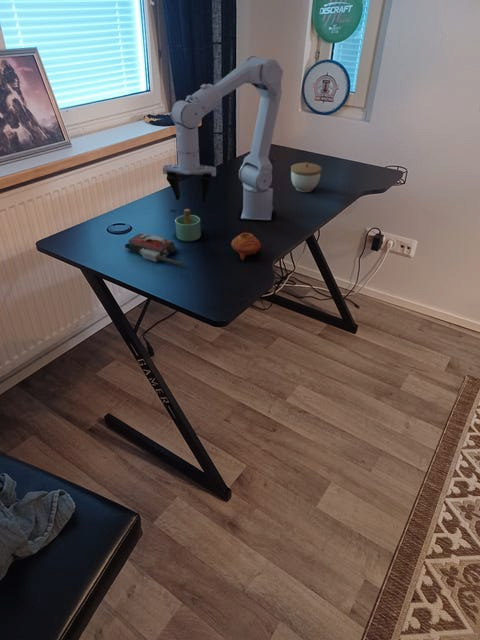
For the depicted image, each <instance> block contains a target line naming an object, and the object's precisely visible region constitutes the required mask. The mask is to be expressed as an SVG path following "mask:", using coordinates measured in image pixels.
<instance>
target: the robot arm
mask: <svg viewBox="0 0 480 640" xmlns="http://www.w3.org/2000/svg"><path fill="white" fill-rule="evenodd" d="M283 74H284V70H283V68H282V67H281V65H280V64H279V62H278V61H277V60H276V59H272V58H270V59H269V58H264V57H258V56H256V55H249V56H248V57H246V59H244V60H242V61H240V63H239V65H238V66H236V68H234V69H233V70H231V71H230V72H229V73H228V74H226V76H224V77H223V78H221V79H220V80H219V81H218V82H216V84H212V83H207V84H206V83H202V85H200V89H199V90H197V91H195V92H194V93H192V94H191V95H190V94H188V95H187V96H185V98H186V99H185V100H184V99H183V100H181V99H180V100H177V101H176V102H175V103H174V104H173V105H172V108H171V112H170V113H169V115H170V119H171V120H172V121H173V123H174V125H175V136H176V137H175V138H176V148H177V149H176V151H177V163H178V164H177V163H176V164H164V165H162V174H163V175H166V177H165V179H166V181H167V182H168V183H169V186H170V187H171V190H172V191H173V194H174V197H175V201H179V200H180V198H181V191H180V179H179V178H180V175H196V176H201V178H200V181H201V188H202V202H206V201H207V198H208V197H207V196H208V190H209V186H210V183H211V181H212V178H213V177H216V176H217V167H216V166H211V165H210V166H209V165H204V164H200V146H199V145H200V144H199V125H200V124H201V123H202V119H203V118H204V117H205V116H206V115H208V114H209V113H211V112H212V111H213V110H214V109H216V108H218V107H219V106H221V104H222V98H224V97H225V96H228V95H229V94H230V93H231V92H234V91H235V90H236V89H238V88H240V87H241V86H243V85H245V84H251V85H252V86H253V87H254V88H255V89H256V91H257V93H258V94H259V96H260V101H259V106H258V111H257V115H256V121H255V127H254V130H253V131H254V132H253V137H252V142H251V147H250V152H249V154H248V155H247V156H245V157H244V158H243V162H242V165H241V166H240V168H239V170H238V178H239V180H240V181H241V182H242V186H243V193H242V194H243V198H242V200H243V201H242V202H243V203H242V204H243V205H242V207H243V208H242V212H241V215H240V219H241V220H255V221H272V216H273V215H272V214H273V212H274V206H273V199H274V189H273V188H271V185H272V181H273V173H272V172H273V165H272V163H271V161H270V158H269V155H270V151H271V145H272V142H273V141H272V140H273V136H274V131H275V126H276V122H277V118H278V113H279V109H280V105H281V99H282V91H283V90H282V79H283Z"/></svg>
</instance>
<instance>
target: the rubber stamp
mask: <svg viewBox="0 0 480 640" xmlns="http://www.w3.org/2000/svg"><path fill="white" fill-rule="evenodd" d="M183 215H184V220H185V224H183V225H190V224H193V223H191V216H190V215H191V209H190V208H185V209H183Z"/></svg>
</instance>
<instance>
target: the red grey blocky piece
mask: <svg viewBox="0 0 480 640" xmlns="http://www.w3.org/2000/svg"><path fill="white" fill-rule="evenodd" d="M124 248H125V249H128V250H129V252H132V253H136V254H139V255H142V257H143V259H144V260H148V261H152V262H153V263H158V262H166V263H168V264H173V265H178V266H179V265H180V266H184V262H183V261H179V260H177V259H176V260H175V259H173V258H168V256H169V255H170V254H172V253H175V250H176V246H175V241H173V240H169V239H166V238H165V237H162V236H158V235H154V234H153V235H149V234H145V233H138V234H136V235H134V236H133V237H131V238H130V239H129V240H128V243H125V244H124Z"/></svg>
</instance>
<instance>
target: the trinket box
mask: <svg viewBox="0 0 480 640" xmlns="http://www.w3.org/2000/svg"><path fill="white" fill-rule="evenodd" d="M322 171H323V169H322V166H321V165H318V164H316V163H312V162H307V161H305V162H297V163H294V164H292V165H291V166H290V180H291V183H292V186H293V187H294V188H295V190H296V191H298V192H300V193H310V192H312V191H314V189H315V188H316V187H317V186H318V184H319V183H320V180H321V175H322Z"/></svg>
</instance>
